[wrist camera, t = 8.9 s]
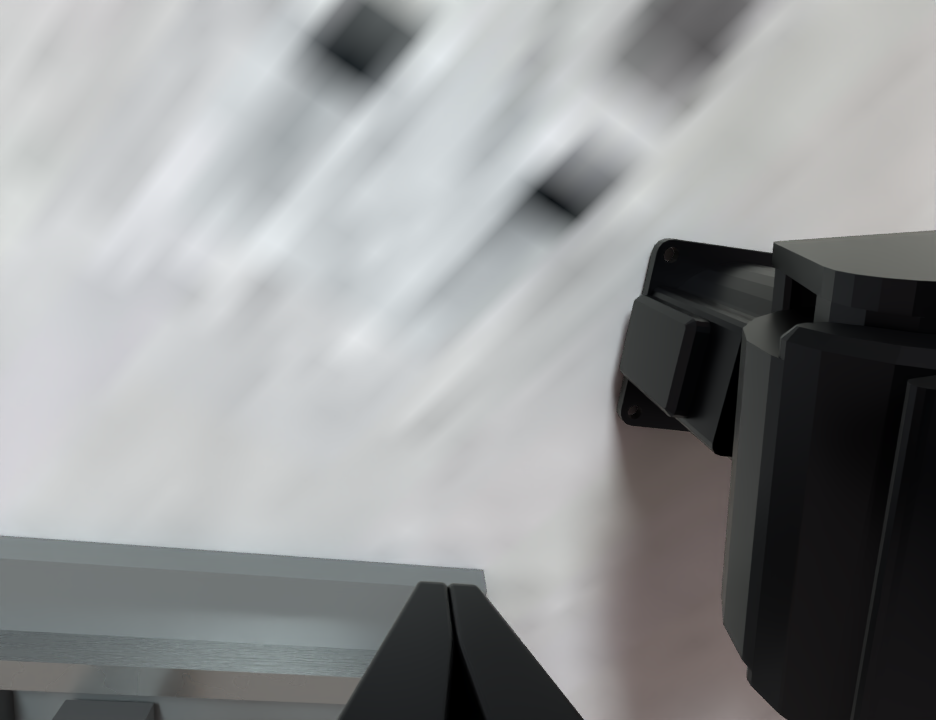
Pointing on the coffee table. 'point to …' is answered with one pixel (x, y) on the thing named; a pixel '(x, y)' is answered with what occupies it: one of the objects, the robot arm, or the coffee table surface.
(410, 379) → the coffee table surface
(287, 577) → the panel
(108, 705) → the handle
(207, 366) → the coffee table surface
